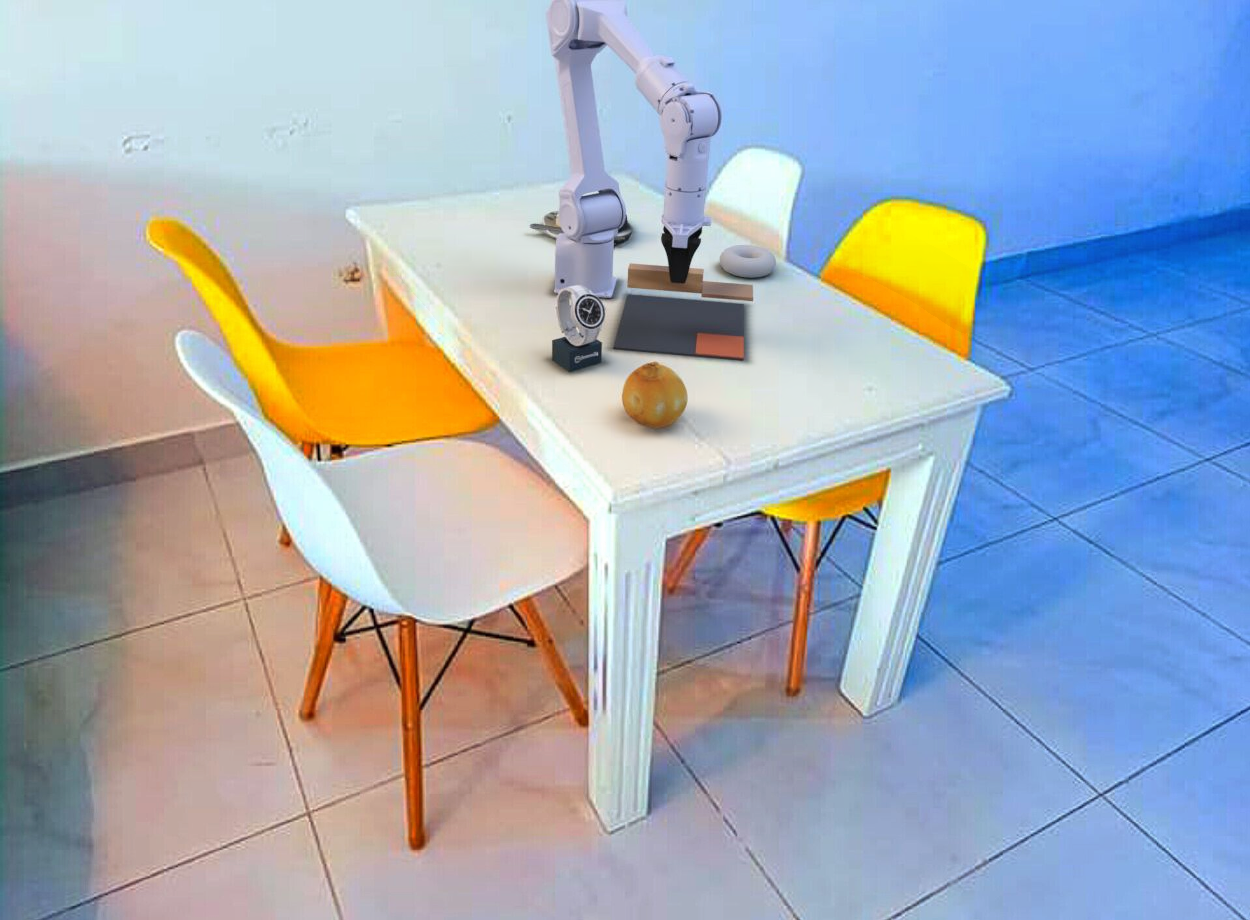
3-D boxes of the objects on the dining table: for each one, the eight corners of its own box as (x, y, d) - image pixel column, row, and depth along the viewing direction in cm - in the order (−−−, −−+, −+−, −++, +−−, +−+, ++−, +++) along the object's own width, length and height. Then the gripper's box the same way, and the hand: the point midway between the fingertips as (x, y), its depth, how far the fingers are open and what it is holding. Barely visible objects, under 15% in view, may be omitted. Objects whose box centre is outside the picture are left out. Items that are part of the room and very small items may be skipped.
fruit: (601, 408, 114) (636, 363, 110) (624, 385, 121) (658, 342, 116) (651, 450, 114) (688, 407, 110) (671, 425, 121) (707, 384, 117)
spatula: (752, 288, 137) (754, 269, 135) (752, 301, 132) (755, 282, 131) (629, 278, 138) (630, 259, 136) (626, 291, 134) (627, 272, 132)
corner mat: (613, 348, 134) (613, 345, 133) (627, 295, 150) (628, 292, 150) (743, 360, 132) (743, 357, 132) (743, 305, 149) (744, 302, 149)
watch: (577, 377, 126) (578, 303, 120) (545, 355, 131) (545, 282, 125) (610, 367, 128) (612, 294, 122) (577, 346, 134) (578, 275, 128)
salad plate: (533, 250, 166) (532, 225, 163) (526, 218, 180) (525, 194, 178) (638, 248, 169) (639, 224, 166) (622, 217, 184) (623, 194, 181)
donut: (715, 277, 159) (773, 283, 157) (717, 258, 157) (775, 264, 155) (721, 258, 167) (776, 263, 166) (723, 239, 165) (779, 244, 164)
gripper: (713, 204, 121) (704, 300, 128) (715, 173, 133) (707, 263, 140) (660, 200, 121) (654, 296, 129) (667, 170, 133) (661, 259, 141)
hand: (678, 278), depth 134 cm, fingers closed on spatula, 2 cm apart
